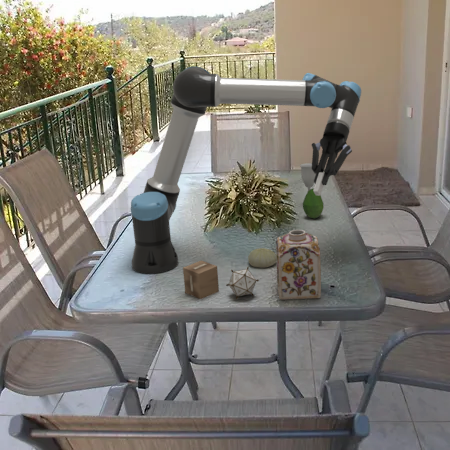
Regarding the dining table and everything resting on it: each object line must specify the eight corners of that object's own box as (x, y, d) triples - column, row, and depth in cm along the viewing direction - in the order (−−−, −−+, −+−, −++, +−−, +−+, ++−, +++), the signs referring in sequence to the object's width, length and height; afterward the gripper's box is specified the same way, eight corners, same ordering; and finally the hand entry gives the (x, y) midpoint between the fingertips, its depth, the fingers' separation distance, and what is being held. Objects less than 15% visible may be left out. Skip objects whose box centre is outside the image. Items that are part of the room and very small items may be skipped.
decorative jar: (321, 299, 162) (320, 238, 156) (279, 300, 162) (277, 240, 157) (316, 281, 173) (315, 224, 167) (277, 283, 174) (275, 225, 168)
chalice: (320, 206, 245) (320, 164, 239) (314, 210, 240) (313, 167, 234) (304, 204, 249) (304, 162, 243) (297, 208, 243) (296, 166, 238)
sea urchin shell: (270, 266, 182) (254, 246, 183) (256, 279, 186) (239, 260, 188) (284, 256, 189) (268, 237, 190) (269, 269, 194) (254, 251, 195)
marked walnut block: (184, 293, 171) (182, 267, 169) (203, 285, 176) (201, 259, 173) (200, 299, 166) (198, 273, 164) (218, 291, 171) (217, 265, 168)
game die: (248, 309, 167) (255, 291, 159) (220, 298, 168) (225, 280, 160) (257, 284, 172) (264, 266, 164) (230, 274, 173) (236, 255, 165)
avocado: (323, 214, 234) (323, 185, 230) (323, 220, 226) (323, 190, 223) (303, 214, 235) (302, 185, 231) (302, 221, 228) (301, 191, 224)
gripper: (361, 135, 183) (340, 201, 176) (322, 132, 190) (301, 196, 183) (355, 121, 177) (333, 189, 170) (315, 119, 184) (293, 185, 177)
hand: (316, 193), depth 176 cm, fingers closed
